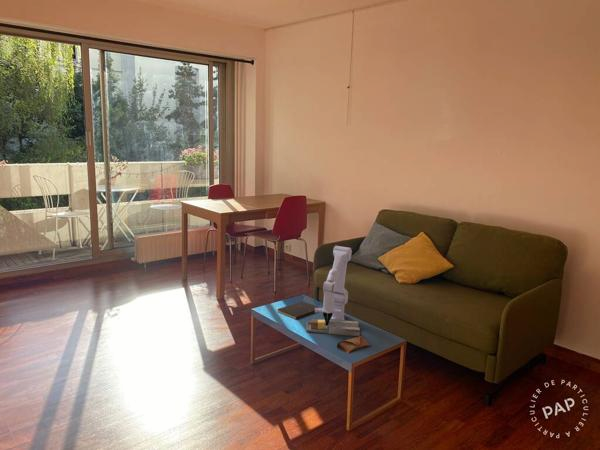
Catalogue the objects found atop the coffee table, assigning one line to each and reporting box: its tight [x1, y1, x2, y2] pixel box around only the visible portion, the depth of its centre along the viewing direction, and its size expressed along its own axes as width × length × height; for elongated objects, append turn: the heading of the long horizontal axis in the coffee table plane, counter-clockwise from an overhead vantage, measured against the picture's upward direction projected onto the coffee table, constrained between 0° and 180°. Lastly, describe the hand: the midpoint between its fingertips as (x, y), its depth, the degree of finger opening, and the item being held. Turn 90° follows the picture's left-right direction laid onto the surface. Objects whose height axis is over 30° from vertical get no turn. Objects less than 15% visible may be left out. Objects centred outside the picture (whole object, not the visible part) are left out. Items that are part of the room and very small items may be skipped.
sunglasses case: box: [336, 335, 372, 354], centre depth 246 cm, size 18×7×7 cm, turn 130°
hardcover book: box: [276, 300, 321, 321], centre depth 290 cm, size 16×23×2 cm
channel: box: [327, 319, 361, 337], centre depth 265 cm, size 12×17×4 cm
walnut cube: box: [310, 318, 319, 329], centre depth 265 cm, size 4×4×4 cm
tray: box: [305, 321, 329, 334], centre depth 265 cm, size 11×12×1 cm
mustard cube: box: [318, 319, 326, 329], centre depth 265 cm, size 4×4×4 cm
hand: (326, 325), depth 265 cm, fingers closed
